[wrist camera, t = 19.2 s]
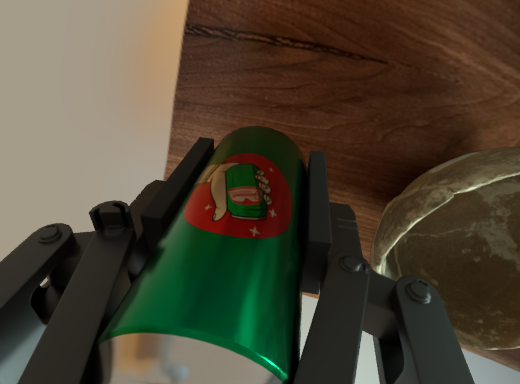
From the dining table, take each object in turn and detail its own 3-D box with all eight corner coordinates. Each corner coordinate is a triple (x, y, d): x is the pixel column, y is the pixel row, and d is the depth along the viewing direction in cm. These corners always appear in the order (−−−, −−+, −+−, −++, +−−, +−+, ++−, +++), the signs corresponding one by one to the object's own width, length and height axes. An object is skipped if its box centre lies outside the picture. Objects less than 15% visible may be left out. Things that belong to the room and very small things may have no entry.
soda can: (262, 216, 18) (202, 484, 8) (197, 163, 16) (31, 414, 7) (326, 167, 15) (349, 473, 6) (256, 100, 14) (125, 356, 4)
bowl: (367, 107, 37) (393, 164, 25) (622, 98, 32) (809, 164, 20) (348, 259, 52) (359, 341, 40) (519, 268, 48) (590, 364, 35)
